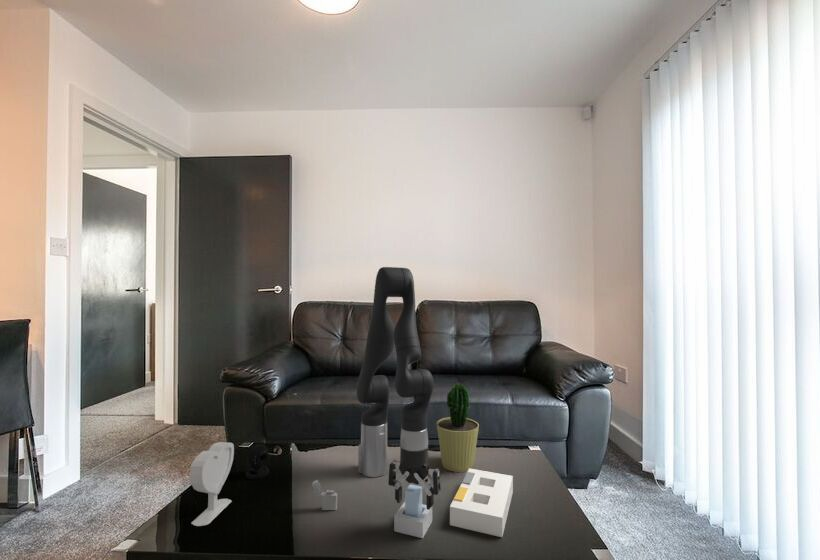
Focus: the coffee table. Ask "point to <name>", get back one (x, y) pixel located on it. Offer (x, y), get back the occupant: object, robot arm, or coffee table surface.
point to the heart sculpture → (212, 478)
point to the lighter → (326, 497)
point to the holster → (413, 522)
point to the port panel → (482, 502)
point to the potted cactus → (457, 432)
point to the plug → (413, 501)
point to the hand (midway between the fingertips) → (414, 504)
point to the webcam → (257, 462)
